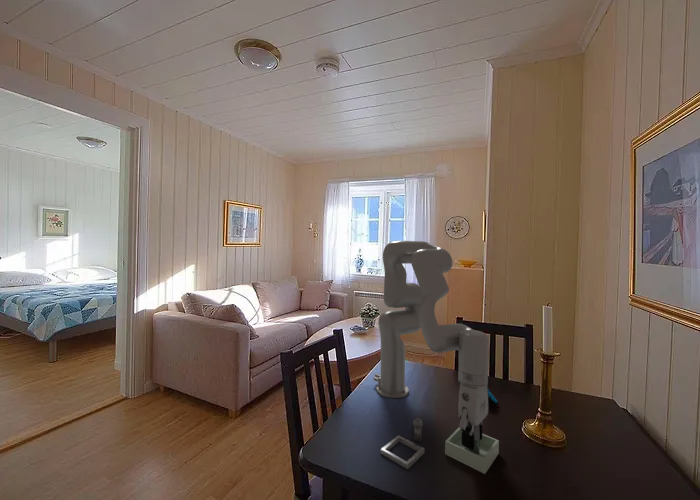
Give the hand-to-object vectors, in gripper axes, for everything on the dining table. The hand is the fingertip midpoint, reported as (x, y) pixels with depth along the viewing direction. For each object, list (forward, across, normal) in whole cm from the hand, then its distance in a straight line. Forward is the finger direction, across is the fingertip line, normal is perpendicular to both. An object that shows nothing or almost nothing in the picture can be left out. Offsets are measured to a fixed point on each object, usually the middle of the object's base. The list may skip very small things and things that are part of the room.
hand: (472, 441), depth 84 cm
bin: (+3, 0, 0) cm, 3 cm away
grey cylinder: (+3, 0, 0) cm, 3 cm away
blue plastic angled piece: (+4, +34, +8) cm, 35 cm away
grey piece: (+3, -10, +14) cm, 18 cm away
